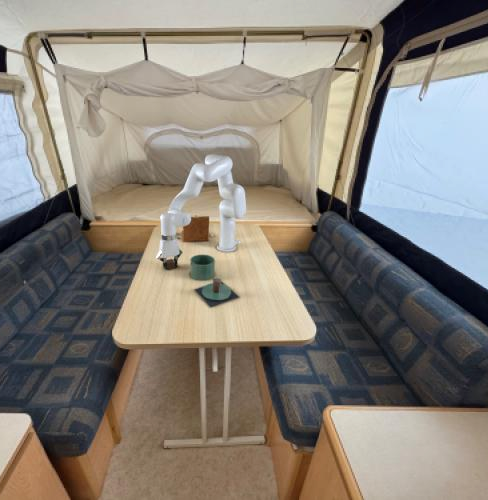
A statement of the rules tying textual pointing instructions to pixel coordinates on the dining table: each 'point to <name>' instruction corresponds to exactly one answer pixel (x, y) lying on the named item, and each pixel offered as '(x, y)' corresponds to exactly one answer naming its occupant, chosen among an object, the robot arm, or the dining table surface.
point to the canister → (202, 267)
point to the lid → (216, 290)
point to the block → (170, 264)
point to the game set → (196, 229)
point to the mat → (216, 302)
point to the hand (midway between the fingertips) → (170, 266)
